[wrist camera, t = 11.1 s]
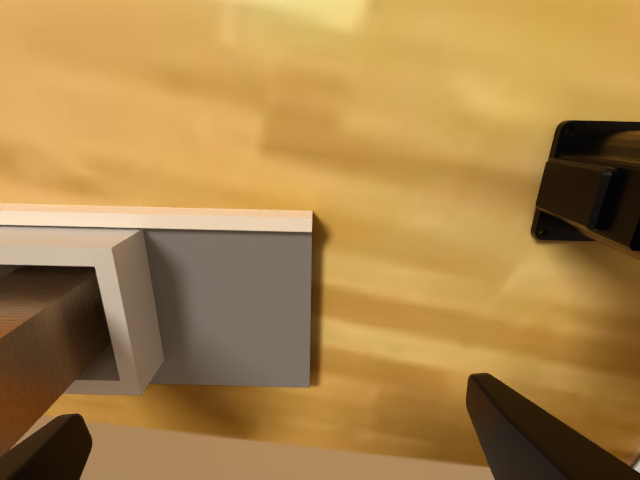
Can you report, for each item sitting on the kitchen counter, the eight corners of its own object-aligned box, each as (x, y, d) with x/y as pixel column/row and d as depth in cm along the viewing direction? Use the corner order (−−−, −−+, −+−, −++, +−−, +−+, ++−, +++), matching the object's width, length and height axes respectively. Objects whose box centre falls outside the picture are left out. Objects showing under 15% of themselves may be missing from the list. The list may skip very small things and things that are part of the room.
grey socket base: (312, 210, 20) (310, 232, 16) (309, 376, 24) (307, 425, 20) (-33, 202, 19) (-119, 222, 16) (24, 370, 24) (-33, 417, 20)
